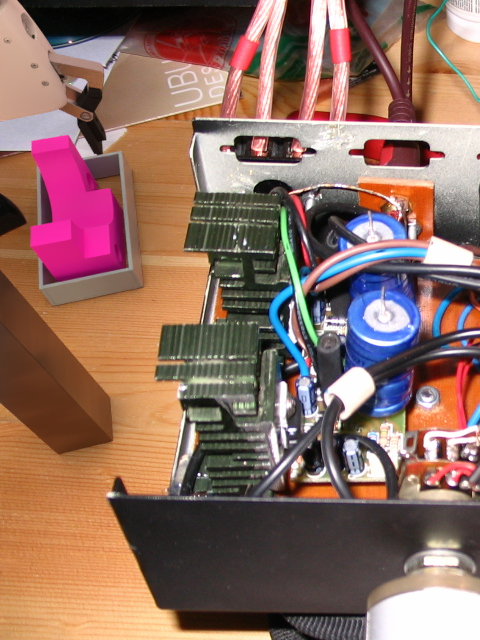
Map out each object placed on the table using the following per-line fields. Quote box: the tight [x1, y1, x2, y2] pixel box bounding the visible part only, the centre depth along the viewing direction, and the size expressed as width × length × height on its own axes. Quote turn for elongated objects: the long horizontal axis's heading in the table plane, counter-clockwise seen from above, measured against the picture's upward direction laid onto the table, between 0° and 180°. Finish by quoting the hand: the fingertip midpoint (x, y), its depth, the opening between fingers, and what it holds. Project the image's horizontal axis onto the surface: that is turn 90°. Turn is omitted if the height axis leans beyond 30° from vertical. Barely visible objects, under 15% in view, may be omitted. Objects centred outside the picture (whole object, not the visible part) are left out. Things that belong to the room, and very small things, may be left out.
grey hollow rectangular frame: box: [36, 150, 144, 307], centre depth 85 cm, size 9×18×3 cm, turn 17°
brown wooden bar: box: [0, 269, 114, 455], centre depth 64 cm, size 5×5×26 cm
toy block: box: [30, 134, 128, 282], centre depth 83 cm, size 15×6×8 cm, turn 17°
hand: (47, 155), depth 77 cm, fingers open, 9 cm apart
